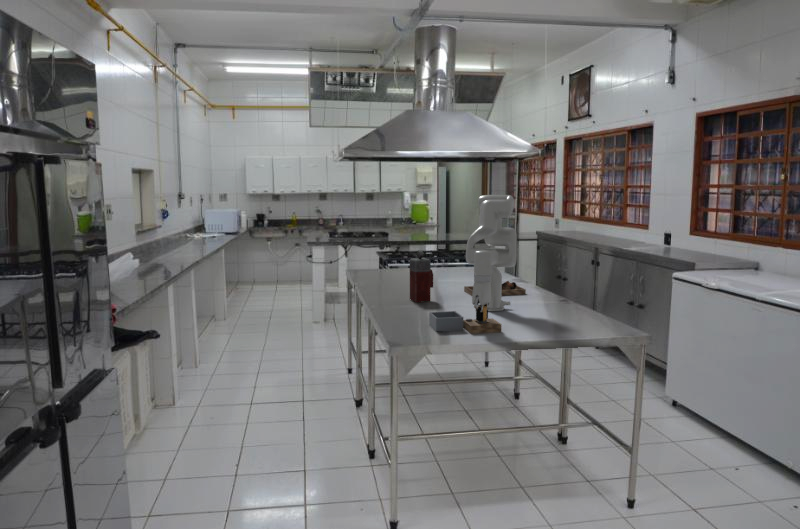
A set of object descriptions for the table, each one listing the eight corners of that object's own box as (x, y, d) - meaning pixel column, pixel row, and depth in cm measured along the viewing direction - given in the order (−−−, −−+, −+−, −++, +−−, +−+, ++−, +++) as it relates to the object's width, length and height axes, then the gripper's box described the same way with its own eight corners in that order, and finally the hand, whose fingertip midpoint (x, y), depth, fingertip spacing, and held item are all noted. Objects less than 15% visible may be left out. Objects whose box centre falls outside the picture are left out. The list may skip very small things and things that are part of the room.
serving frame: (514, 289, 347) (514, 284, 347) (525, 294, 331) (525, 289, 330) (464, 291, 341) (464, 286, 341) (473, 296, 325) (473, 291, 324)
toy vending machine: (434, 301, 313) (434, 250, 310) (415, 302, 309) (415, 251, 306) (427, 298, 322) (427, 249, 318) (409, 299, 318) (409, 250, 314)
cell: (484, 325, 253) (485, 303, 251) (487, 327, 249) (488, 305, 247) (476, 325, 252) (476, 304, 251) (479, 327, 248) (479, 305, 247)
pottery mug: (509, 296, 329) (502, 283, 330) (499, 300, 337) (493, 288, 338) (522, 288, 335) (516, 276, 336) (513, 293, 343) (506, 281, 344)
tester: (492, 326, 257) (492, 317, 257) (501, 332, 247) (501, 322, 246) (462, 327, 255) (463, 318, 254) (470, 333, 244) (470, 324, 243)
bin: (455, 323, 262) (455, 311, 261) (463, 330, 250) (463, 317, 249) (429, 325, 259) (429, 312, 259) (436, 331, 247) (436, 318, 247)
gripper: (483, 275, 256) (482, 315, 259) (466, 280, 243) (465, 322, 245) (498, 276, 252) (497, 317, 255) (482, 282, 238) (481, 324, 241)
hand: (482, 319), depth 250 cm, fingers closed on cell, 4 cm apart
